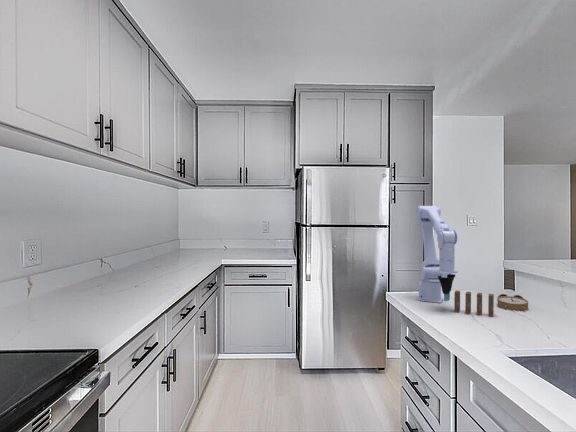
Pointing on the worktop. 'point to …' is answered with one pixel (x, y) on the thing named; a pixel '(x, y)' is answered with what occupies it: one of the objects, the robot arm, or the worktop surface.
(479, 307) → the domino
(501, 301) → the alarm clock
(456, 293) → the domino
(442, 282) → the robot arm
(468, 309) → the domino
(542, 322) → the worktop surface
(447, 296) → the teal domino
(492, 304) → the domino
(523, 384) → the worktop surface
